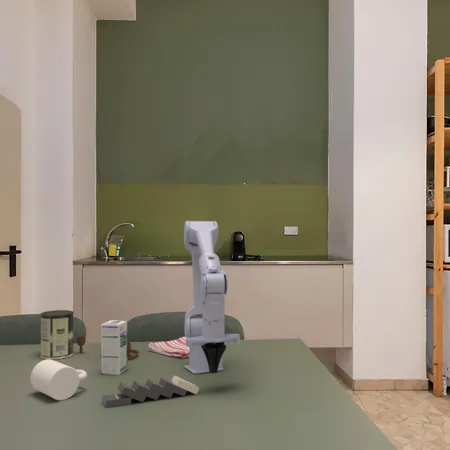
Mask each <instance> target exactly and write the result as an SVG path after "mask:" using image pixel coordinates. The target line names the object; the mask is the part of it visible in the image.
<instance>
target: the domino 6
mask: <svg viewBox="0 0 450 450" xmlns="http://www.w3.org/2000/svg"><path fill="white" fill-rule="evenodd" d="M171 382H173V383H174V384H175V385H176V386H178V387H181V388H183V389H185V390H187V391H186V392H190V393H192V394H194V395H197V394H198V393H199V390H200V387H198V385H195V384H194V383H192V382H190V381H187V380H186V379H183V378H181V377H179V376H177V375H173V377H172V379H171Z"/></svg>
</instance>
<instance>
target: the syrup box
mask: <svg viewBox="0 0 450 450" xmlns="http://www.w3.org/2000/svg"><path fill="white" fill-rule="evenodd" d="M100 339H101V340H100V344H101V346H100V347H101V348H100V349H101V351H100V353H101V354H100V356H101V367H100V368H101V370H100V371H101V374H103V375H113V376H120V375H121V374H123V373H124V372H126V371H127V370H129V369H128V367H129V365H128V361H127V357H128V355H127V342H128V320H122V319H115V320H114V319H113V320H109V321H106V322H104V323H101V325H100Z"/></svg>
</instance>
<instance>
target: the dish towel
mask: <svg viewBox="0 0 450 450" xmlns="http://www.w3.org/2000/svg"><path fill="white" fill-rule="evenodd" d="M186 338H187V337H186V336H182V337H179V338H177V339H174V340H173V339H172V340H168V341H159V342H151V341H150V342H149V344H148V350H149V352H153V353H156V354H160V355H164V356H168V357H171V358H172V357H173V358H180V359H181V360H184V359H187V358H188V359H189V347H187V346H186ZM224 345H226V346H227V343H224Z"/></svg>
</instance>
